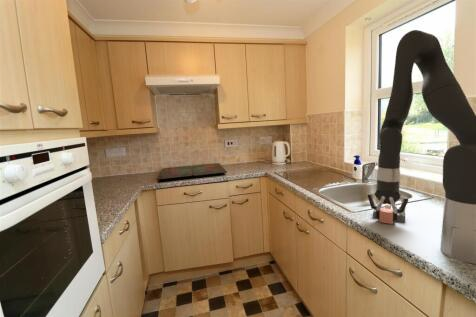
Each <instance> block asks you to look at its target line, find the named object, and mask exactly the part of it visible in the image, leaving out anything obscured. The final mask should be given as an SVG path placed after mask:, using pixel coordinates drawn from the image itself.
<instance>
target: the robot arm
mask: <svg viewBox="0 0 476 317" xmlns="http://www.w3.org/2000/svg"><path fill="white" fill-rule="evenodd" d="M414 64H415V65H416V67H417V68H418V69H419V71H420V74H421V77H422V86H421V96H422V99H423V101H424V104H425V106H426V108H427V111H428V112H429V114H430V115H431V116H432V117H433V118H434V119H435V121H437V122H439V123H440V124H441V125H443V126H444V127H445V128H446V129H448V130H449V131H450V132H451V133H452V134H453V135H454V136H455V138H456V140H457V142H458V143H459V144H456V145H452V146H451V147H449V148H447V150H446V152H445V153H444V154H443V155H444V156H443V160H442V188H443V189H444V193H445V195H444V201H443V202H444V203H443V204H444V205H443V215H442V226H441V234H440V236H441V237H440V251H441V253H443V254H444V255H445V256H447V257H448V258H449V259H450V260H454V261H455V260H456V261H460V262H464V263H469V264H473V265H476V113H475V111H474V109H473V108H472V106H471V104H470V103H469V101H468V99H467V98H468V97H467V96H466V94H465V92H464V90H463V88H462V87H461V85H460V83H459V81H458V80H457V79H456V76H455V75H454V73H453V71H452V70H451V68H450V66H449V65H448V62H447V60H446V58H445V55H444V52H443V48H442V46H441V43H440V40H439V39H438V37H437V36H435V35H434V34H433V33H428V32H425V31H422V30H418V29H414V30H412V29H411V30H409V31H407V33H405V34H403V36H402V37H401V38H400V40H399V41H398V44H397V48H396V53H395V60H394V70H393V80H392V85H391V86H392V88H391V92H390V96H389V100H388V104H387V107H386V111H385V115H384V116H385V117H384V120H383V122H382V125H381V128H380V131H379V135H378V138H379V154H378V159H377V160H378V163H377V172H376V190H375V192H374V193H372V192H368V194H367V199H368V202H369V204H370V208H371V209H372V210H374V209H375V210H376V217H375V219H377V220H378V221H379V218H380V208H382V205H385V204H389V205H391V209H393V211H394V212H393V223H395V222H398V221H397V214H398V213H403V211H404V209H405V210H406V208H407V207H406V206H407V204H408V202H409V197H408V196H403V195H401V194H400V185H401V184H400V182H401V181H400V180H401V170H400V169H401V168H400V167H401V149H402V145H403V144H402V143H403V131H402V130H403V127H404V124H405V122H406V120H407V118H408V116H409V113H410V111H411V107H412V103H413V98H414V90H413V77H412V76H413V69H414V66H415V65H414ZM375 197H376V199H377V200H378V203H377V205H375V202H374V199H375ZM399 200H400V202H401V204H400V205H401V206H400V208H399V207H398V208H397V205H396V204H397V203H396V202H398V201H399Z"/></svg>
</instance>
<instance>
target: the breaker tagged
mask: <svg viewBox="0 0 476 317" xmlns="http://www.w3.org/2000/svg"><path fill="white" fill-rule="evenodd" d="M384 208H386V209H392V206H391V205H389V204H384Z"/></svg>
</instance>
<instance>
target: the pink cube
mask: <svg viewBox="0 0 476 317" xmlns="http://www.w3.org/2000/svg"><path fill="white" fill-rule="evenodd" d="M378 222H379V223H384V224H389V225H393V223H394V222H393V208H391V209H386V208H385V207H381V208H380V218H379V220H378Z"/></svg>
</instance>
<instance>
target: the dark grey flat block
mask: <svg viewBox="0 0 476 317" xmlns="http://www.w3.org/2000/svg"><path fill="white" fill-rule="evenodd" d="M372 210H373V211H372V218H376V210H375V209H372ZM393 212H394V211H393ZM396 222H402V223H406V212H405V213H398V214H397V221H396Z"/></svg>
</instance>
